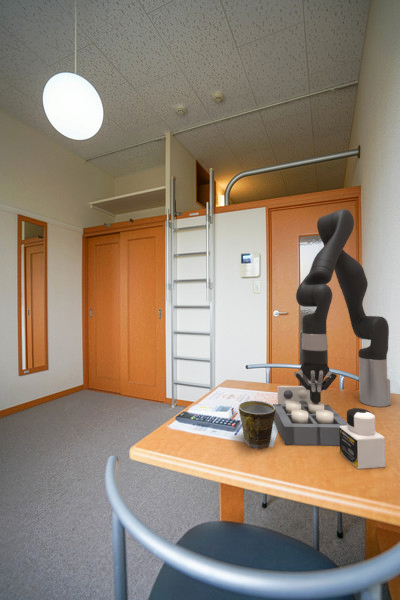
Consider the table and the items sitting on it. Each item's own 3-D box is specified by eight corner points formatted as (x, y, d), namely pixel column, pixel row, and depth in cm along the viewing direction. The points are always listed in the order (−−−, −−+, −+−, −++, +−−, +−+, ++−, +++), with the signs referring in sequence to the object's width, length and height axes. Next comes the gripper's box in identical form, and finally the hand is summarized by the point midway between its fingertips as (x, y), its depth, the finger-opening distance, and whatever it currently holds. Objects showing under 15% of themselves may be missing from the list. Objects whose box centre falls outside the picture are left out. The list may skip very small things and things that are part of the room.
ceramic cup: (247, 431, 84) (246, 398, 84) (280, 439, 79) (279, 404, 79) (229, 451, 73) (228, 413, 73) (266, 462, 67) (265, 421, 68)
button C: (298, 410, 89) (298, 401, 89) (303, 416, 85) (303, 406, 85) (284, 410, 90) (284, 401, 90) (287, 416, 85) (287, 406, 85)
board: (328, 419, 91) (328, 404, 91) (353, 446, 74) (352, 427, 74) (273, 419, 92) (272, 404, 92) (284, 444, 75) (284, 426, 76)
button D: (305, 419, 82) (305, 409, 82) (310, 426, 78) (310, 415, 78) (289, 419, 83) (289, 409, 83) (294, 426, 78) (293, 415, 78)
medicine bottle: (339, 453, 71) (338, 406, 71) (365, 451, 72) (364, 405, 72) (357, 469, 64) (356, 417, 64) (386, 467, 64) (385, 416, 65)
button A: (321, 410, 89) (321, 401, 89) (326, 416, 84) (326, 406, 84) (306, 410, 89) (306, 401, 89) (311, 416, 84) (311, 406, 84)
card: (312, 411, 98) (311, 386, 98) (313, 412, 97) (312, 387, 97) (277, 411, 99) (277, 385, 99) (278, 412, 98) (278, 386, 98)
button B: (329, 419, 82) (329, 409, 82) (336, 426, 77) (336, 416, 77) (313, 419, 82) (313, 409, 82) (319, 426, 77) (319, 415, 77)
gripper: (331, 346, 90) (332, 399, 90) (290, 345, 91) (290, 398, 91) (341, 349, 83) (342, 408, 82) (296, 349, 84) (296, 406, 83)
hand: (315, 402), depth 87 cm, fingers closed
